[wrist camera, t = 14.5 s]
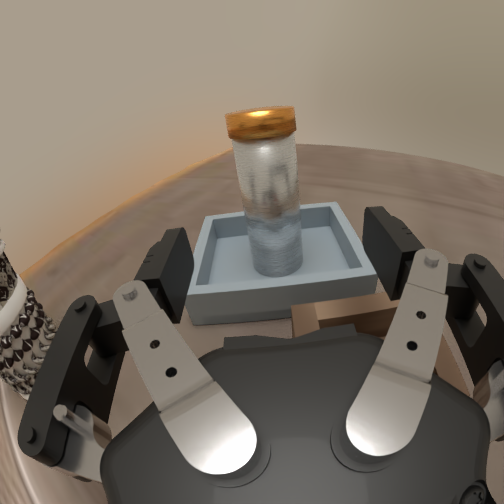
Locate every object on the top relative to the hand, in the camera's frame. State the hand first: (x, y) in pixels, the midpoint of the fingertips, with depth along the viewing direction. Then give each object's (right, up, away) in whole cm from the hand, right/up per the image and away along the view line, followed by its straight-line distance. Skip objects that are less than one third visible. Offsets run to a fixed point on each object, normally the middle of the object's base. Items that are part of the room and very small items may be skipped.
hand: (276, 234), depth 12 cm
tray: (+1, -2, +15) cm, 15 cm away
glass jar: (+1, -2, +14) cm, 15 cm away
